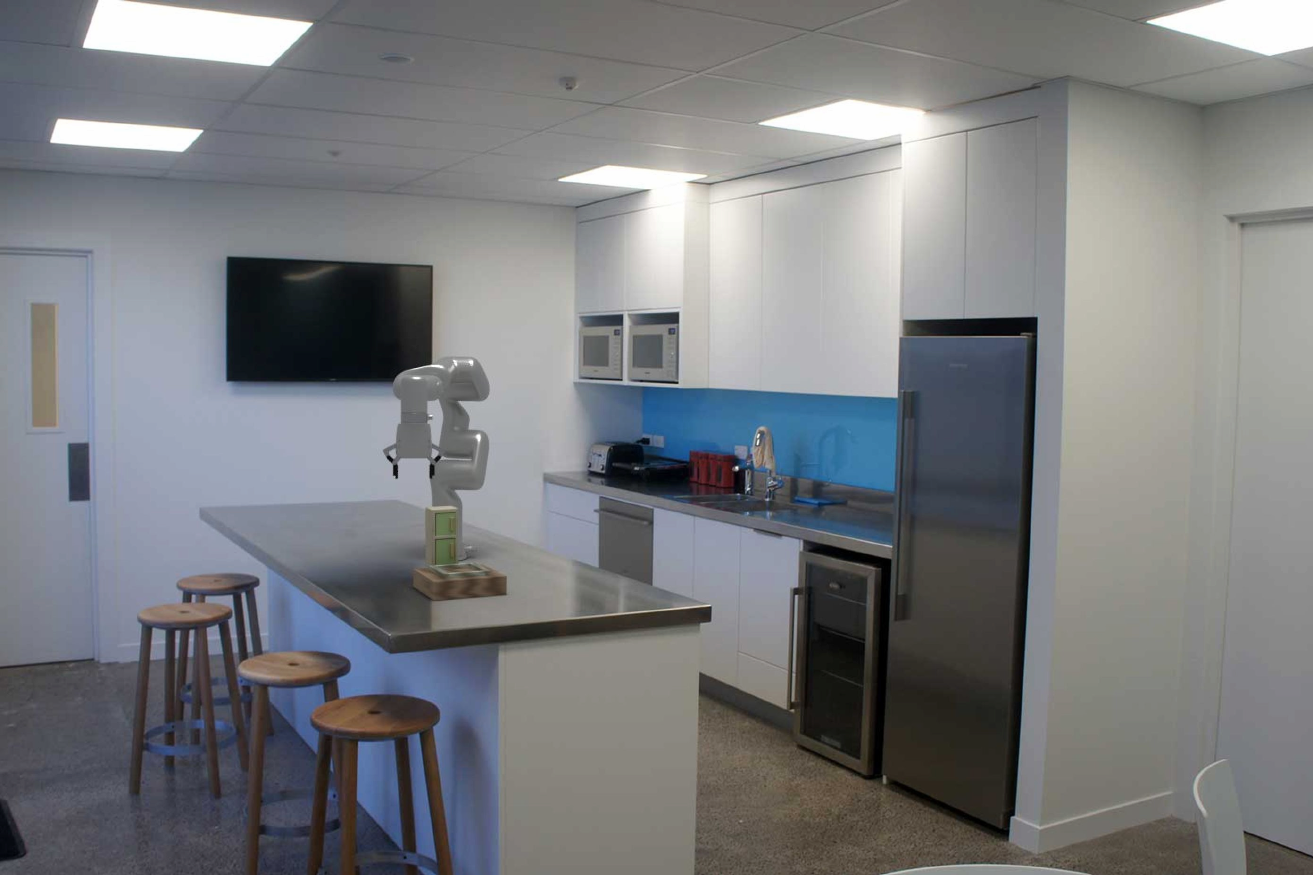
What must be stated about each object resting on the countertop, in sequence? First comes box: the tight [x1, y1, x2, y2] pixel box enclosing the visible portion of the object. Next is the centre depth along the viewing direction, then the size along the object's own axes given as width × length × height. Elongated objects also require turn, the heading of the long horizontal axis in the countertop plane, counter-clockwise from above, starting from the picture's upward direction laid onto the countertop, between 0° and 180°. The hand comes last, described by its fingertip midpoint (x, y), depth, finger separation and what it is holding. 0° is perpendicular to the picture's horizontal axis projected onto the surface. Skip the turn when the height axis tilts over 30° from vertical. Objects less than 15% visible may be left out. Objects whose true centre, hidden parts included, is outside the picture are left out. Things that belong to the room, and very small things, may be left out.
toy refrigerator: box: [424, 506, 459, 568], centre depth 320 cm, size 8×7×21 cm
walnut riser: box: [412, 562, 508, 602], centre depth 306 cm, size 20×20×6 cm
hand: (413, 478), depth 321 cm, fingers open, 9 cm apart
